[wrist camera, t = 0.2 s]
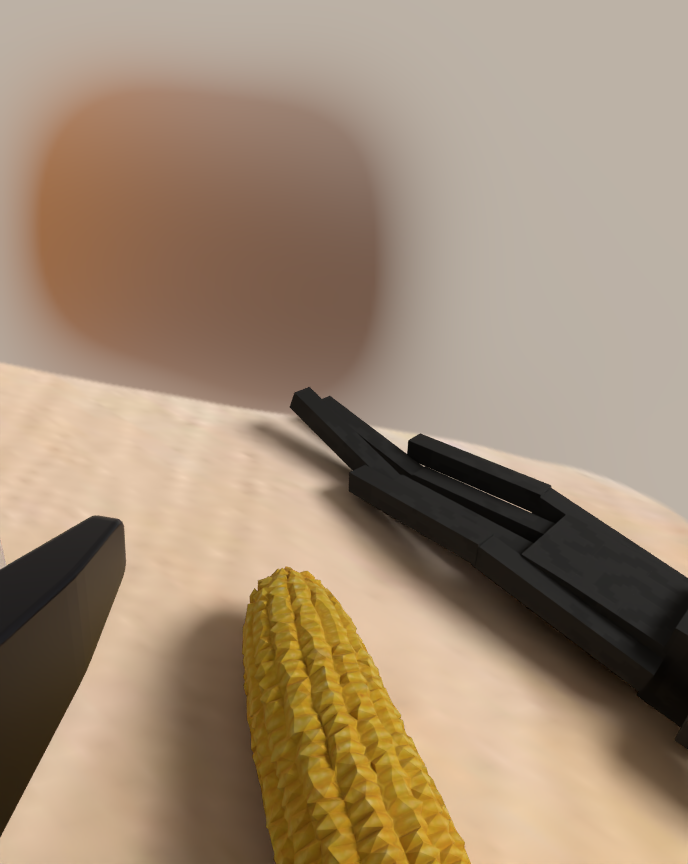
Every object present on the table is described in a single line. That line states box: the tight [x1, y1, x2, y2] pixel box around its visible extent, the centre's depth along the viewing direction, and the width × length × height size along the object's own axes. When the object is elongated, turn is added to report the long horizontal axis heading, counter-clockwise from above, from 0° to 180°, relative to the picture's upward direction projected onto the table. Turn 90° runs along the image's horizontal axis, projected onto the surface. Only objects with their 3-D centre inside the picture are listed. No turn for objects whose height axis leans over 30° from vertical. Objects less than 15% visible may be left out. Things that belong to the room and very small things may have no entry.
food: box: [242, 567, 471, 864], centre depth 20 cm, size 21×6×6 cm, turn 21°
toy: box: [290, 387, 688, 749], centre depth 34 cm, size 10×5×30 cm
